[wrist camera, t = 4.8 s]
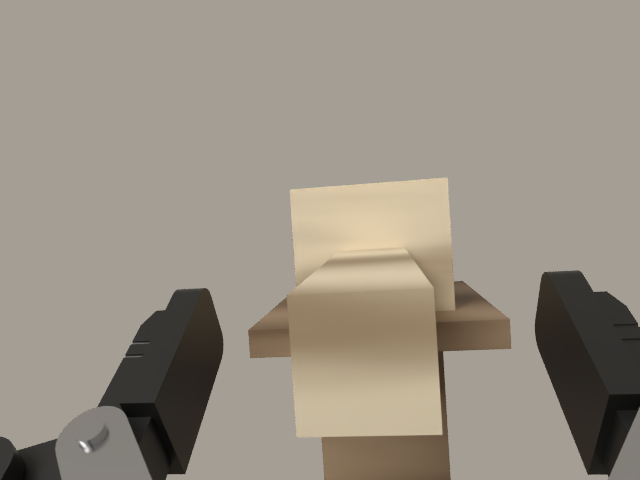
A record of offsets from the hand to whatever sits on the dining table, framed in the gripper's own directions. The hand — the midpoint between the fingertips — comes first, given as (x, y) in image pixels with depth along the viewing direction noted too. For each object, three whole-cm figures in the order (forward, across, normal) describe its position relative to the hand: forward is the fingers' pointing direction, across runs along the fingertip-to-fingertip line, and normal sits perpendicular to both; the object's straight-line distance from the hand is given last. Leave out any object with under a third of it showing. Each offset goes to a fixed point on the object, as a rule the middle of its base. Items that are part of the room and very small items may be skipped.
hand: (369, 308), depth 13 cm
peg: (+3, 0, +4) cm, 5 cm away
